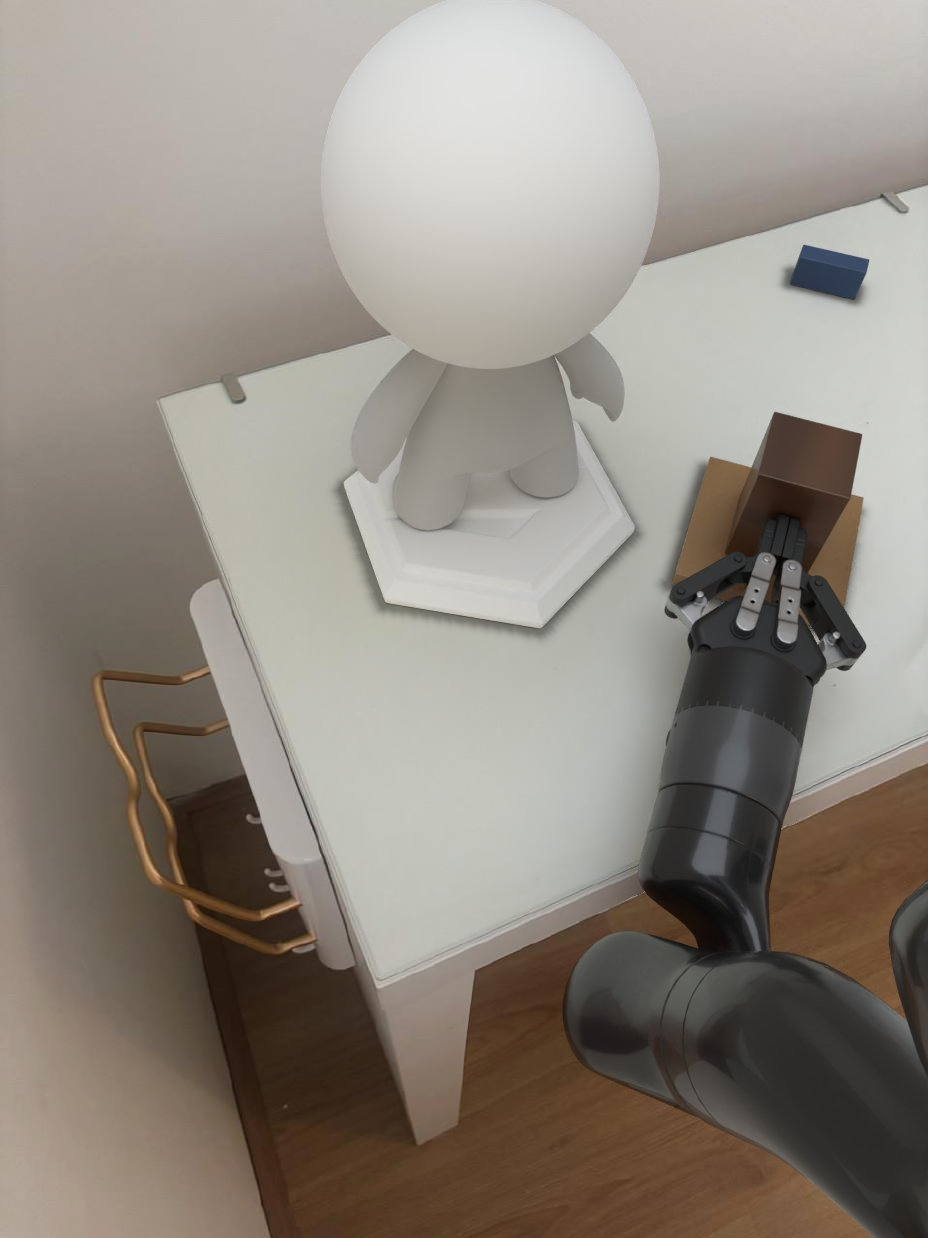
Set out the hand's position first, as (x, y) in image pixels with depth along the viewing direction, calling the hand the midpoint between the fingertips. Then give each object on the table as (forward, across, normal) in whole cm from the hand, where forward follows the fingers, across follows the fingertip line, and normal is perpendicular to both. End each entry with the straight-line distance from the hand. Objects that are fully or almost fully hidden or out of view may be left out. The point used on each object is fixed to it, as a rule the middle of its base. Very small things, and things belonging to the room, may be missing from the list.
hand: (785, 523), depth 63 cm
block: (+3, 0, +7) cm, 7 cm away
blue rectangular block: (+35, 0, +7) cm, 35 cm away
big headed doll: (-1, +21, +7) cm, 22 cm away
